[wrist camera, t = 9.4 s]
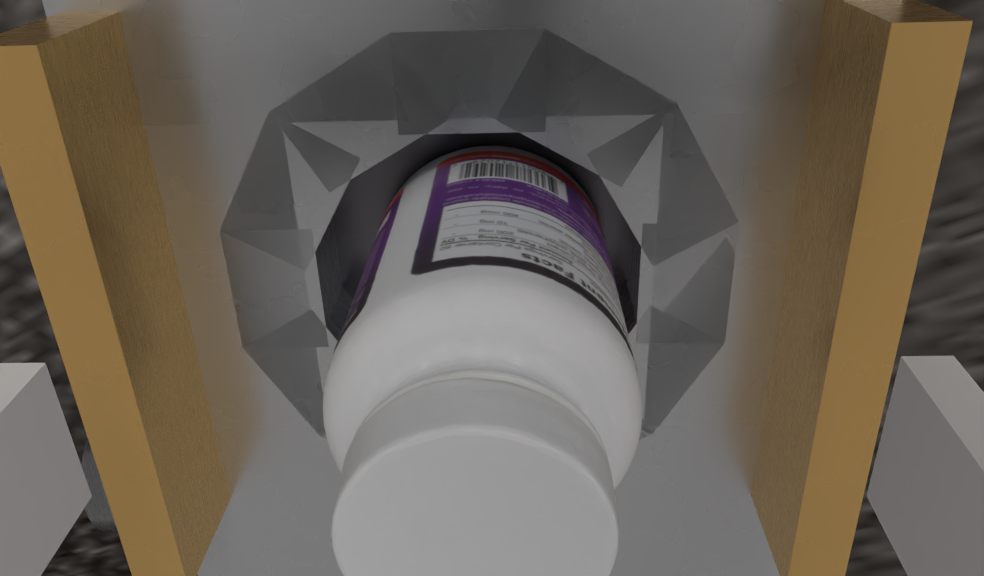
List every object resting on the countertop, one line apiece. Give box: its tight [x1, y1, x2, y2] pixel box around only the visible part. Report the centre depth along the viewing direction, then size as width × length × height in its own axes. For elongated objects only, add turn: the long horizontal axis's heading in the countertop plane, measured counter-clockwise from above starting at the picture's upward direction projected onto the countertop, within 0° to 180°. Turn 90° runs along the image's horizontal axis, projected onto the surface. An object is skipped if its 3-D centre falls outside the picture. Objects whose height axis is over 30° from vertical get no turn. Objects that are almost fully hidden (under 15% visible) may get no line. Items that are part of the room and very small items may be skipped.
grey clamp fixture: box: [0, 0, 973, 576], centre depth 21 cm, size 20×19×8 cm
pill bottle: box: [323, 146, 642, 576], centre depth 16 cm, size 5×5×10 cm
